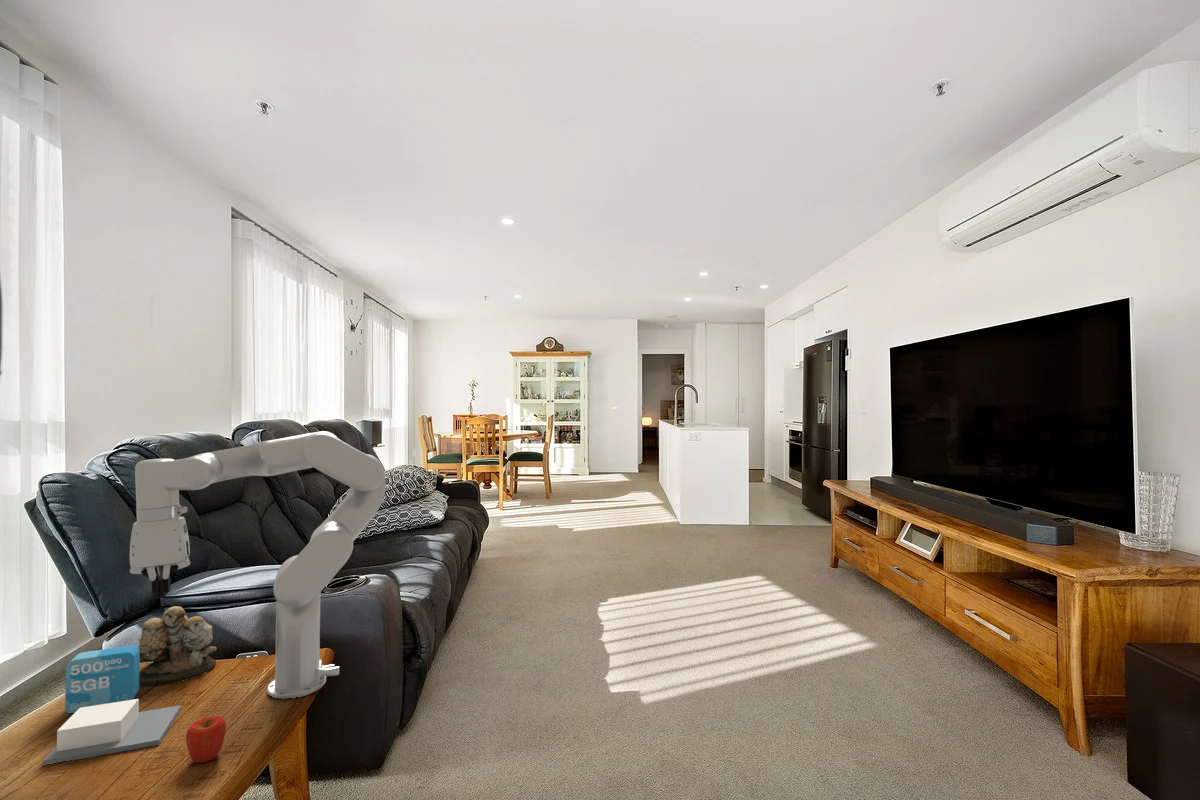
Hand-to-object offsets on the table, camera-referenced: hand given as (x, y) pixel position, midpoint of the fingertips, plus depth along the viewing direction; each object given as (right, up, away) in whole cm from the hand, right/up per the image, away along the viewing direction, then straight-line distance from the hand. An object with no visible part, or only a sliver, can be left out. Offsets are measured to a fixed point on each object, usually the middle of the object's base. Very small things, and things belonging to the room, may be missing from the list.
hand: (161, 596), depth 125 cm
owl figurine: (-11, -26, +17) cm, 33 cm away
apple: (+22, -26, -17) cm, 38 cm away
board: (-2, -26, -9) cm, 27 cm away
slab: (0, -23, -8) cm, 24 cm away
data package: (-15, -26, +3) cm, 30 cm away
